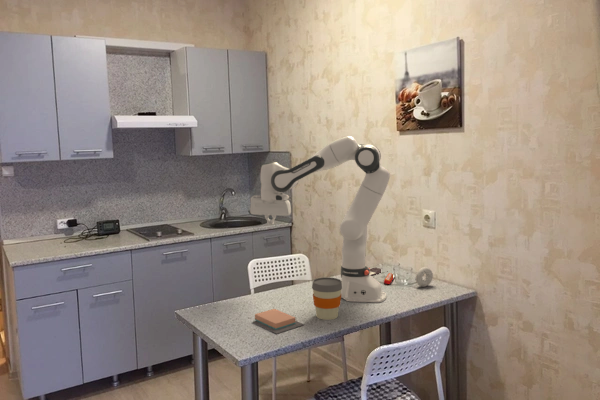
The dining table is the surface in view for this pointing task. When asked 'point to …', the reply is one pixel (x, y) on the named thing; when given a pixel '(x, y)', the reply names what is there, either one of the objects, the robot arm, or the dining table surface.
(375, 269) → the chocolate bar
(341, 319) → the dining table surface
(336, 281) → the reusable coffee cup
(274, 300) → the dining table surface
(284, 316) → the tile
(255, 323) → the mat
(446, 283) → the dining table surface
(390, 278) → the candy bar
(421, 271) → the donut
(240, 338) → the dining table surface
